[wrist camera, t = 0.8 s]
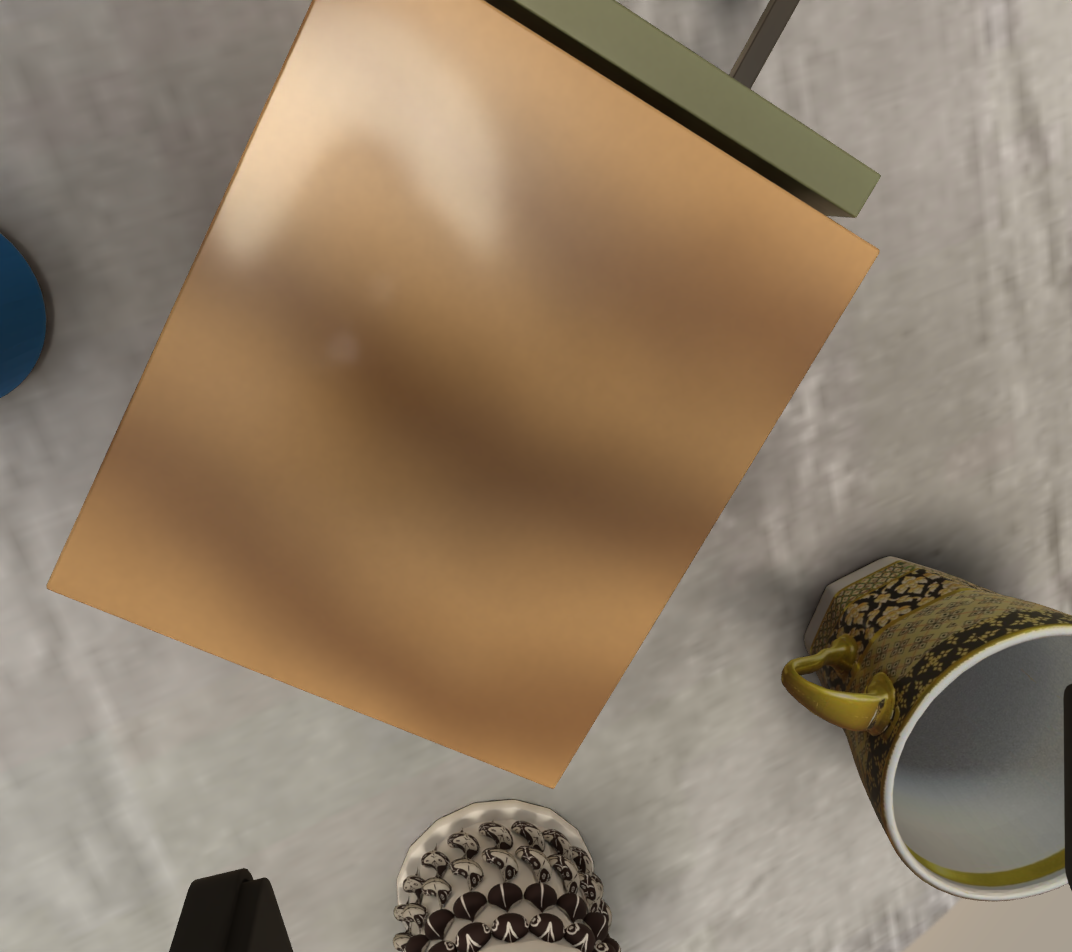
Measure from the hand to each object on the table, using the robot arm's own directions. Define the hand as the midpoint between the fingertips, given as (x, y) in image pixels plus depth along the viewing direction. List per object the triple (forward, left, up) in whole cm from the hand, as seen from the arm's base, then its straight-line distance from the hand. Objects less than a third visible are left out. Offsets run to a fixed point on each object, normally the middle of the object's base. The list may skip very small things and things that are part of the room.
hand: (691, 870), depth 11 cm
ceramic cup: (+10, +14, -25) cm, 31 cm away
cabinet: (-2, -2, -25) cm, 25 cm away
